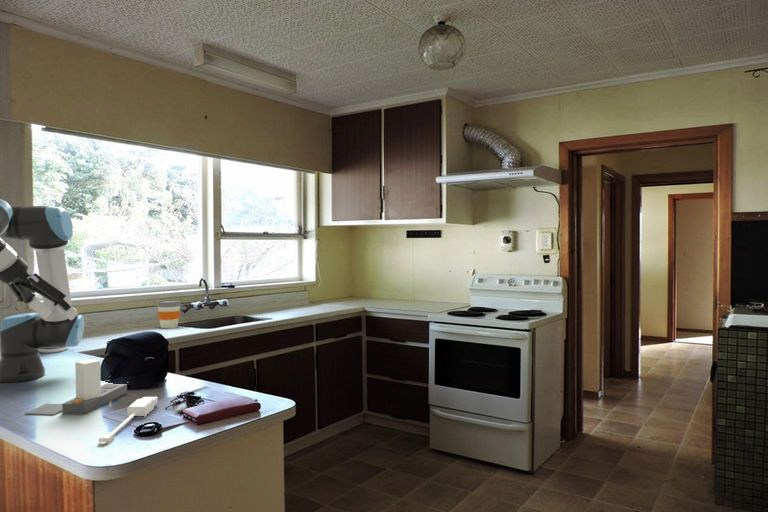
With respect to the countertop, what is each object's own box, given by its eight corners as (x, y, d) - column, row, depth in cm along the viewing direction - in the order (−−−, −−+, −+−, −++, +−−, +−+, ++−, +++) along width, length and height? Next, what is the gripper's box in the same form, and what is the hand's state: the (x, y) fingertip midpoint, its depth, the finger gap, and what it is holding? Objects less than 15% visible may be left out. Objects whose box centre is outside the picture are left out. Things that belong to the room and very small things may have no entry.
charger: (75, 397, 164) (75, 361, 164) (92, 393, 168) (92, 358, 168) (84, 400, 161) (83, 364, 161) (101, 396, 166) (100, 360, 165)
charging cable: (91, 450, 135) (90, 437, 134) (142, 404, 167) (142, 394, 166) (111, 450, 135) (111, 437, 135) (159, 404, 167) (158, 394, 167)
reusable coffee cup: (176, 324, 317) (176, 299, 316) (184, 327, 307) (183, 301, 307) (154, 326, 309) (153, 300, 308) (161, 329, 299) (161, 302, 299)
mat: (46, 404, 167) (46, 403, 167) (74, 405, 166) (74, 404, 166) (24, 414, 158) (24, 413, 158) (54, 415, 157) (54, 414, 157)
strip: (120, 385, 188) (120, 375, 188) (139, 386, 188) (139, 375, 187) (62, 413, 158) (62, 401, 158) (85, 414, 158) (84, 402, 158)
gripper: (-29, 274, 149) (28, 324, 162) (19, 273, 137) (77, 327, 150) (-7, 255, 154) (46, 305, 167) (41, 253, 142) (95, 307, 154)
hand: (61, 316), depth 158 cm, fingers open, 13 cm apart
